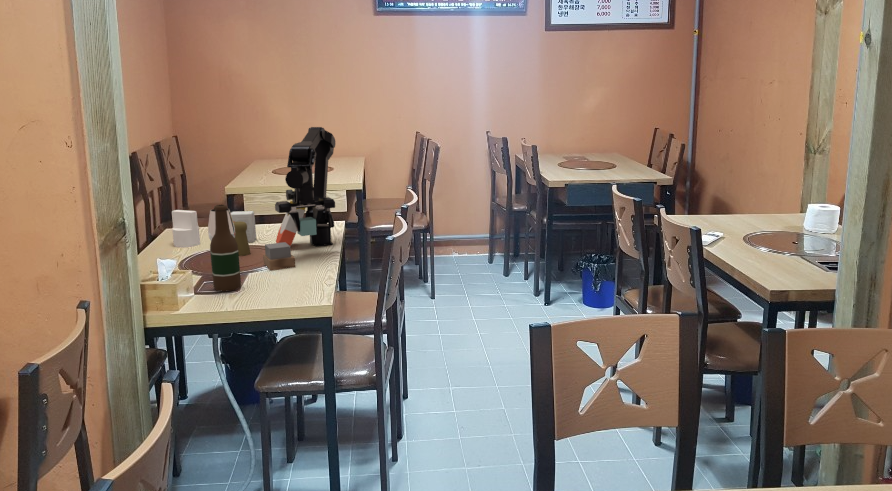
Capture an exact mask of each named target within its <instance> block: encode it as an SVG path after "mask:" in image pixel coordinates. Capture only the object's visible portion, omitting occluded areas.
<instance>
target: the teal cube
mask: <svg viewBox="0 0 892 491" xmlns="http://www.w3.org/2000/svg"><path fill="white" fill-rule="evenodd" d="M299 222H300V232H298V230H297V232H296V234H298V235H300V237H306V236H308V237H309V236H310V235H317V233H316V219H314V218H312V217H306V218H305V217H303V218H299Z"/></svg>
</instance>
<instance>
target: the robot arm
mask: <svg viewBox="0 0 892 491" xmlns="http://www.w3.org/2000/svg"><path fill="white" fill-rule="evenodd" d="M307 129H308V131H307V133H306V134H305V135H304V137H303V139H302V140H301V141H298V142H295V143H294V144H293V145H291V148H290V149H289V153H288V160H287V163H286V164H287V168H290V171H288V172H287V173H286V175H285V183H286V185H287V186H288V187H289V188H291V189H286V190H285V198H286V200H284V201H276V202H275V204H274V209H275V211H276V212H277V213H279V214H286V213H288V214H290V215H291V217H292V219H293V221H294V223H295V226H296V228H297V230H298V232H300V222H299V212H297V211H296V209H297V208H305V209H306V210H305V213H304V214H305V216H304V218H306V217H312V218H314V219H316V233H317V235H309V244H311V245H312V246H314V247H323V246H331V245H333V244H334V243H333V242H332V235H331V234H332V230H331V229H332V228H335V220H334V217H333V213H332V212H331V209H334V208H336V202H335V200H334V198H331V197H330V196H327V191H328V189H327V188H328V173H329V172H328V170H329V160H330V159H331V158H332V156H333V155H334V151H335V149H334V148H336V139H335V137H334V135H333V133H331V132H329V131H327V130H326V129H325V128H324V127H322V126H311V127H309V128H307ZM313 166H314V172H313ZM293 190H294V191H293ZM290 201H292V202H293V203H290Z"/></svg>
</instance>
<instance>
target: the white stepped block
mask: <svg viewBox="0 0 892 491" xmlns="http://www.w3.org/2000/svg"><path fill="white" fill-rule="evenodd" d="M197 212H198V211H197V210H188V209H187V210H185V209H184V210H183V209H174V210H172V211H171V218H172V219H171V221H172V228H171V231H172V243H173V246H174V247H175V248H191V247H195V246H199V245H201V237H200V236H201V234H200V226H199V224H198V223H199V222H198V214H197Z"/></svg>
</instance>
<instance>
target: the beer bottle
mask: <svg viewBox="0 0 892 491" xmlns="http://www.w3.org/2000/svg"><path fill="white" fill-rule="evenodd" d="M213 209H214V210H215V227H216V229H215V235H214V236H213V238H212V240H211V241H210V244H209V253H210V264H211V275H212V276H211V277H212V285H213V288H214V289H215V291H216V292H231V291H236V290H239V289H240V288H241V287H242V284H241V283H242V282H241V279H242V278H241V270H240V269H241V268H240V267H241V266H240V265H241V264H240V256H239V252H238V245H237V242H236V240H235V238H234V237H233V236H232V234H231V232H230V229H229V222H228V216H227V209H229V208H228V206H227V204H216V205H214V206H213Z"/></svg>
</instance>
